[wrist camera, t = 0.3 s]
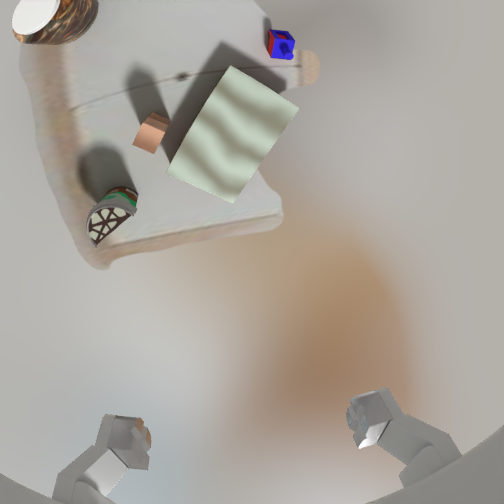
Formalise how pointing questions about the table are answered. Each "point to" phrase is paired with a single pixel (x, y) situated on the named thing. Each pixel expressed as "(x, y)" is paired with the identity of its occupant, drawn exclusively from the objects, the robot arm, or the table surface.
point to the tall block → (151, 132)
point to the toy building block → (280, 44)
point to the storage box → (231, 135)
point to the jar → (53, 20)
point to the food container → (110, 213)
